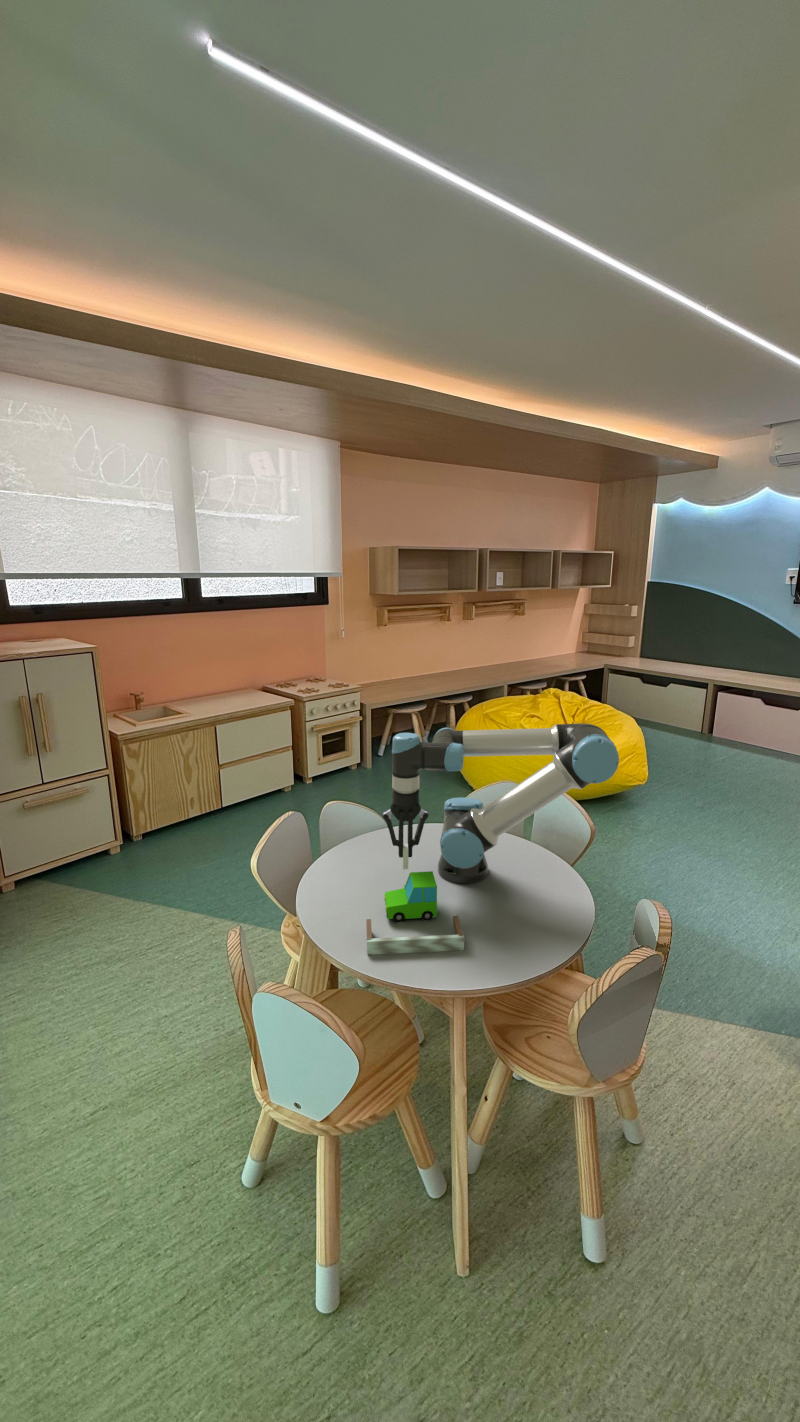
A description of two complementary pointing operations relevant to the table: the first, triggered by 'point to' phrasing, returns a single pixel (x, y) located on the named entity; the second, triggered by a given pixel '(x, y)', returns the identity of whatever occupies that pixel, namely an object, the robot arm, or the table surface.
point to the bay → (416, 942)
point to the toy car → (413, 898)
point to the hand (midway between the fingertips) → (405, 867)
